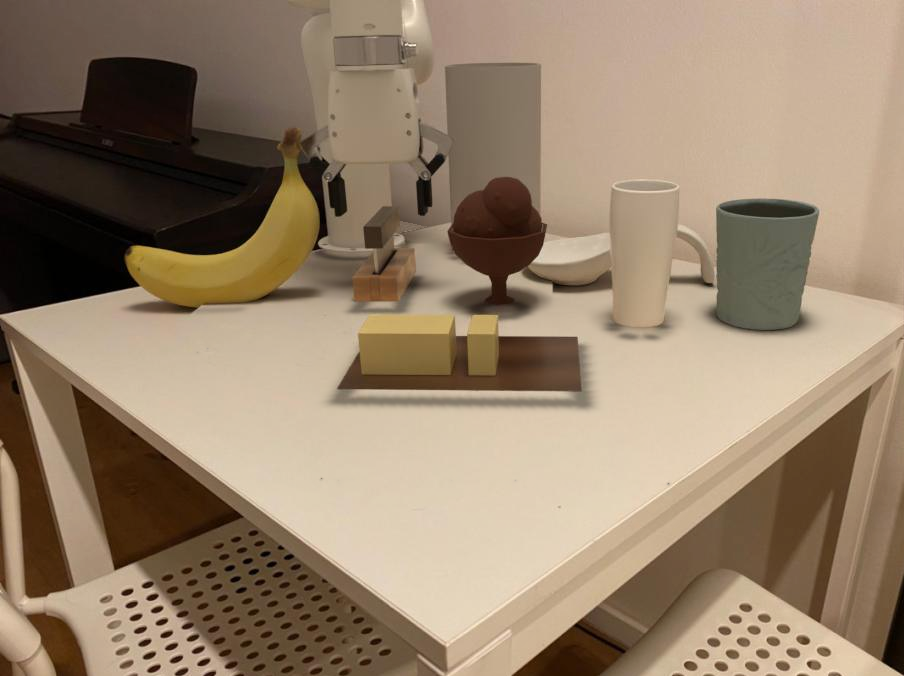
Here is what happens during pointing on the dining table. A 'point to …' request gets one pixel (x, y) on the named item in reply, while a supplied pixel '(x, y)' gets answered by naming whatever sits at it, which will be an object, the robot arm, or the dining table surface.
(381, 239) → the knife
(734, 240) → the green cup
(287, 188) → the banana
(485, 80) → the cylinder vase
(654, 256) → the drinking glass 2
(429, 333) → the butter
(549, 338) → the board
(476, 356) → the butter slice
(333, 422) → the dining table surface
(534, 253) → the ice cream bowl
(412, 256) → the knife block
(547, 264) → the spoon rest
